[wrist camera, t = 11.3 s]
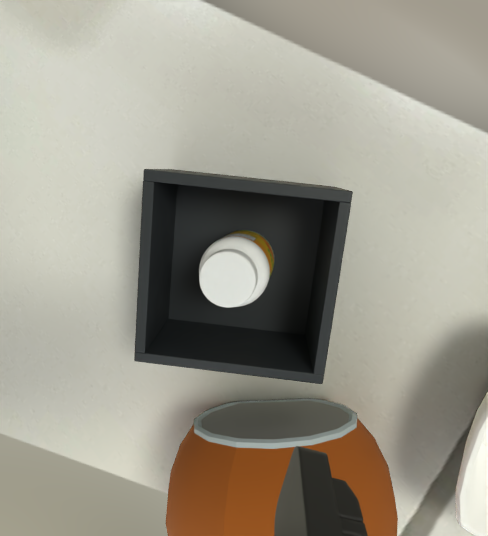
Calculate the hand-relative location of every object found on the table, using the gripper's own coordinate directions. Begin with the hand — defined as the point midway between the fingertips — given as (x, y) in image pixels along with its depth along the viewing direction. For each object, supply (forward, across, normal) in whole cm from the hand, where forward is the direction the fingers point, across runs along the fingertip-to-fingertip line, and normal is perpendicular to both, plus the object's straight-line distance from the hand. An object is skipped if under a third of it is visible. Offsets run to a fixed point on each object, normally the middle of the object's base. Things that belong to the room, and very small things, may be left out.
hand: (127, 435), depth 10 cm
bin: (+30, -2, +2) cm, 30 cm away
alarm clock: (+30, -9, +20) cm, 37 cm away
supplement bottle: (+29, -2, +2) cm, 29 cm away
